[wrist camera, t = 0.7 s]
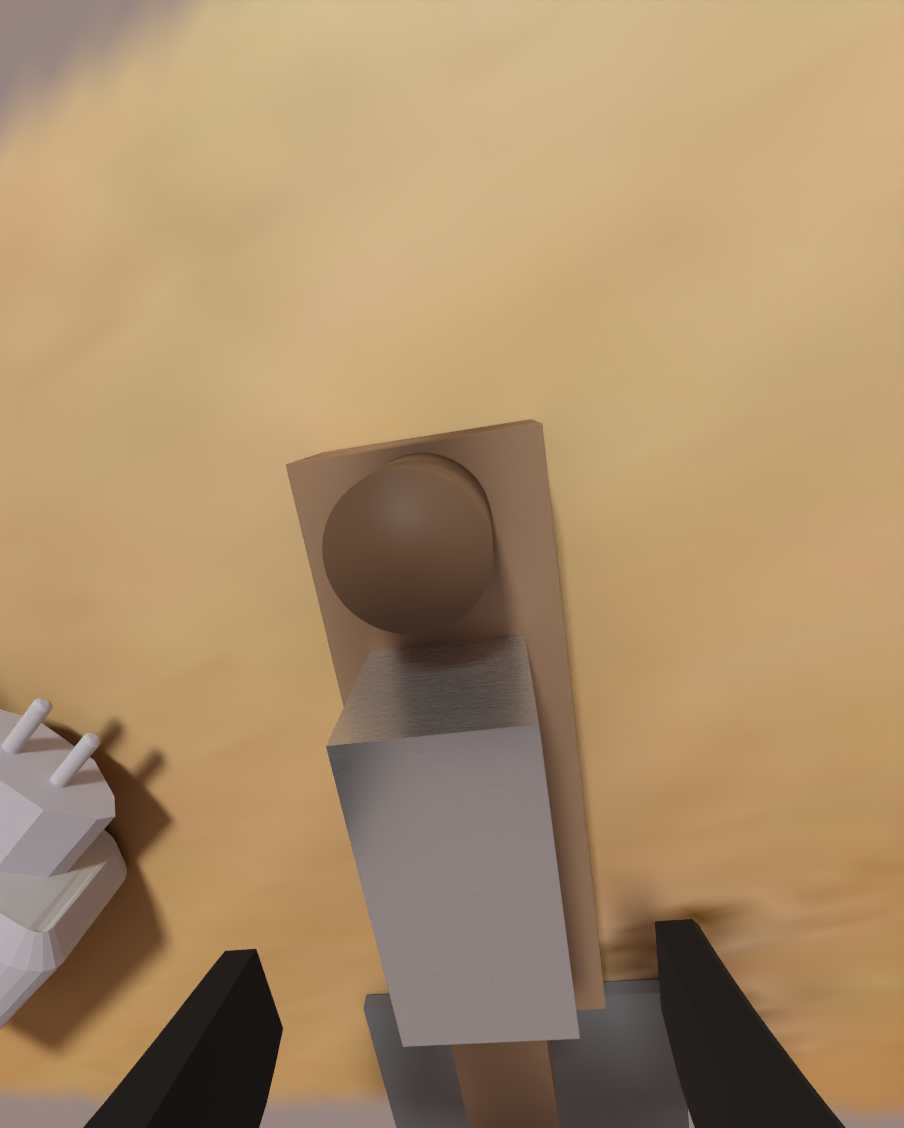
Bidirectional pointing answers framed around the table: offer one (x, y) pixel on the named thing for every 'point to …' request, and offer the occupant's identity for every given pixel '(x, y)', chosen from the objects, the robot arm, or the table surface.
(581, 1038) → the mat
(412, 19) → the table surface
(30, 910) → the charger
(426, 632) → the plane body
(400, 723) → the lever cap
